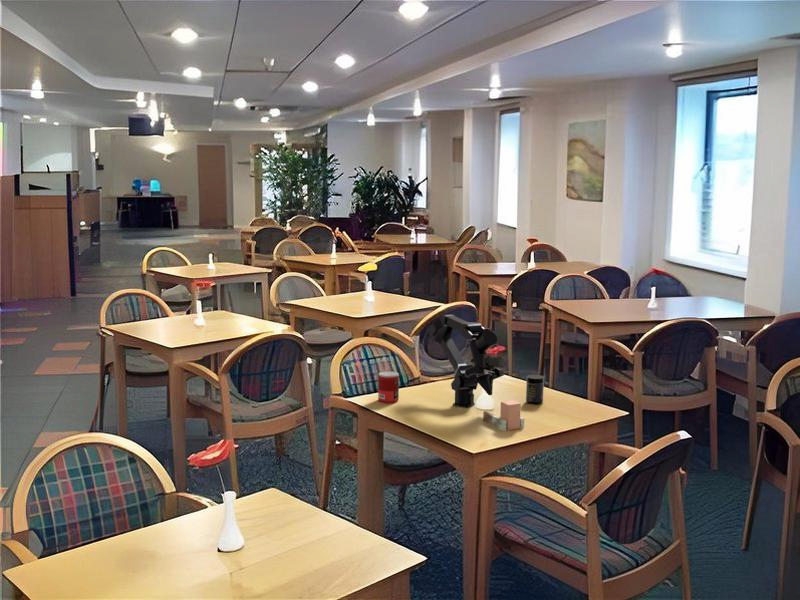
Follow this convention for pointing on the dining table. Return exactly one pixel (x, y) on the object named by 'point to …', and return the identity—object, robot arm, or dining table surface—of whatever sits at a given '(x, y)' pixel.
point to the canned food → (388, 387)
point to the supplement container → (534, 389)
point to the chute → (498, 421)
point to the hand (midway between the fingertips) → (490, 394)
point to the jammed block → (511, 414)
